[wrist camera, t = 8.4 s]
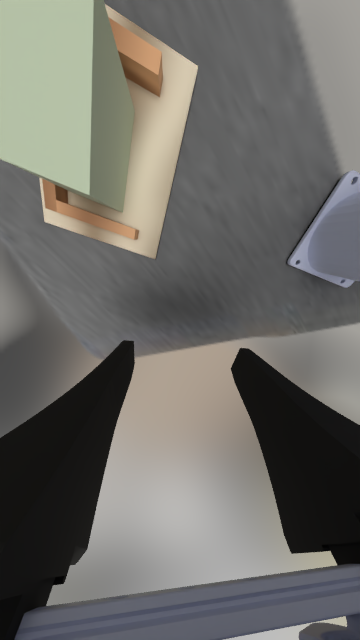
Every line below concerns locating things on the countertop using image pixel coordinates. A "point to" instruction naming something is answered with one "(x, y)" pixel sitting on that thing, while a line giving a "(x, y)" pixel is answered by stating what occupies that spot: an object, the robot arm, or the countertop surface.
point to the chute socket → (136, 146)
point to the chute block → (65, 97)
